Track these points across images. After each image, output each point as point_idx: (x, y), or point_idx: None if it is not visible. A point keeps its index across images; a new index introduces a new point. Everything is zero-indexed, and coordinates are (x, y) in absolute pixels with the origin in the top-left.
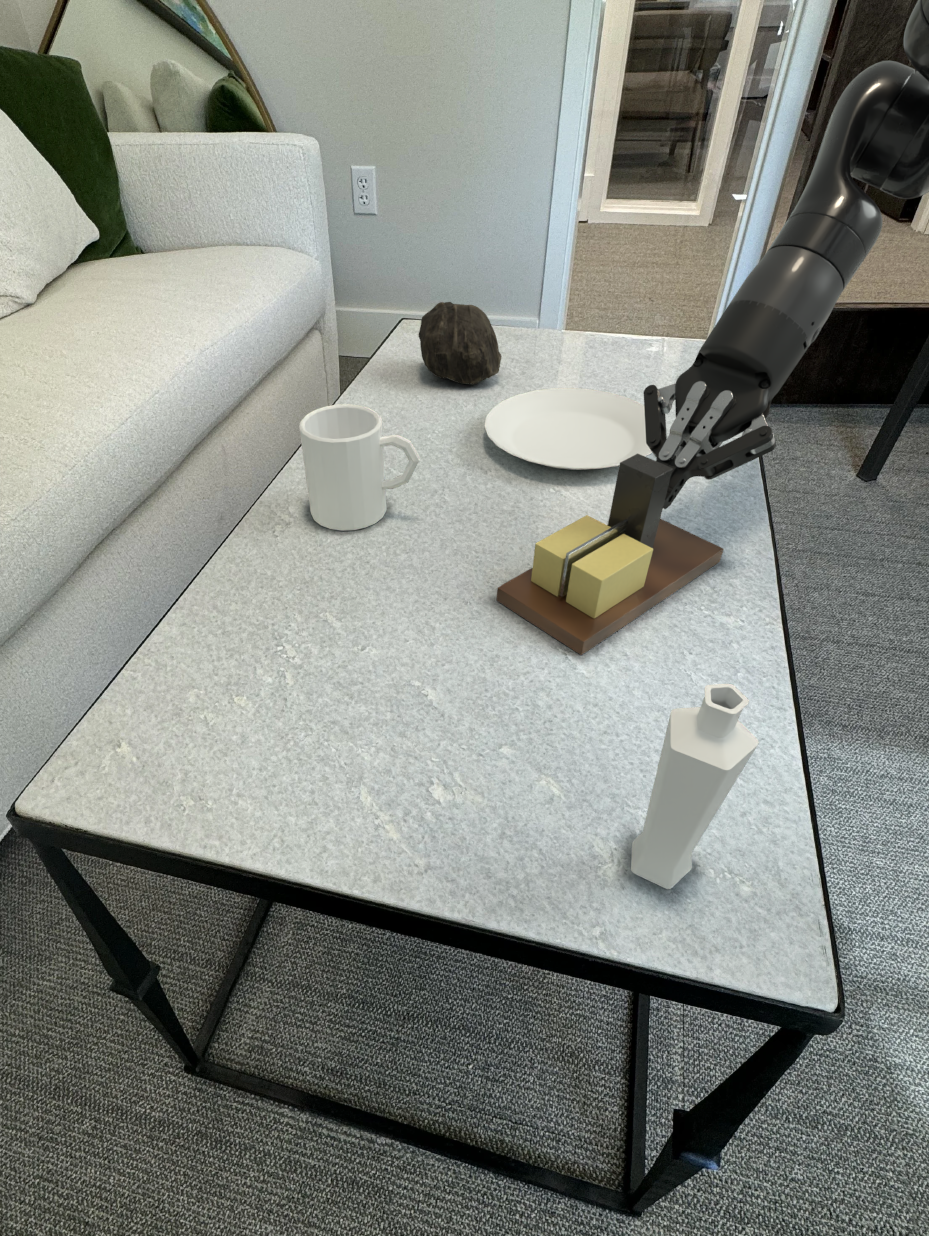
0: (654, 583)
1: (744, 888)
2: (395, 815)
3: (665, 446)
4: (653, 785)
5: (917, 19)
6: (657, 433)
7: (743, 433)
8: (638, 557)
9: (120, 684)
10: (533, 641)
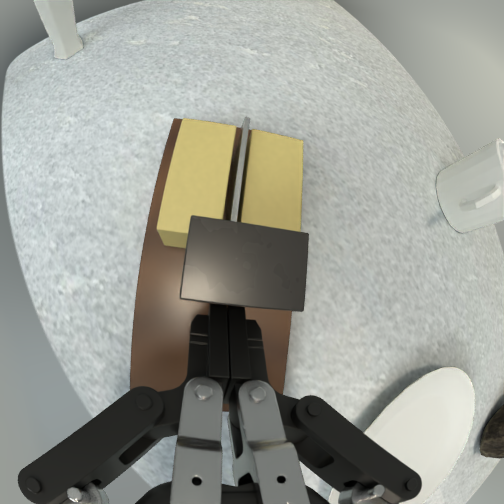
0: (156, 261)
1: (32, 68)
2: (203, 6)
3: (271, 409)
4: (73, 7)
5: None
6: (316, 427)
7: (99, 500)
8: (164, 191)
9: (366, 28)
10: (224, 121)
